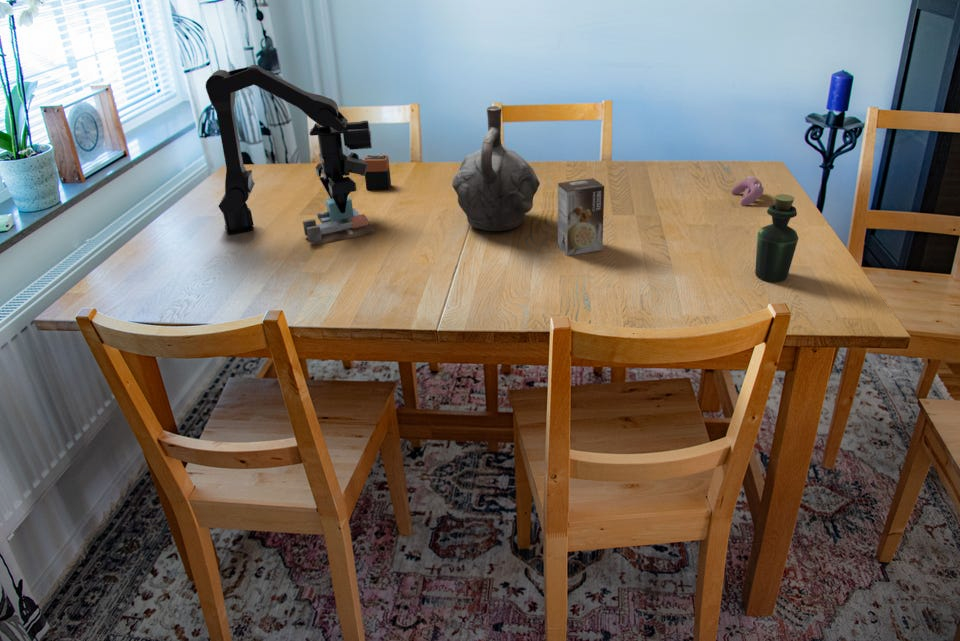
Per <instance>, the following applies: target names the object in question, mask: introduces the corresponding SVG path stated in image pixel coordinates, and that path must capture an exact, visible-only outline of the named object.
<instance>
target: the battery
mask: <svg viewBox="0 0 960 641" xmlns="http://www.w3.org/2000/svg"><path fill="white" fill-rule="evenodd" d="M389 159H390V158H389V156H388V155H385V153H377V154H376V155H372V154H371V153H370V154H366V156H365V157H364V158H363V160H364V161H365V162H366V163H367V164H368V165H367V170H366V174H365V176H364V181H365V189H366V190H367V191H386V190H387V191H389V189H390V188H391V185H392V180H391V179H392V178H391V171H390V170H391V169H390V160H389Z"/></svg>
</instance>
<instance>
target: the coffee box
mask: <svg viewBox="0 0 960 641" xmlns="http://www.w3.org/2000/svg"><path fill="white" fill-rule="evenodd" d="M557 186H558V187H557V191H558V192H557V194H558V196H557V246H558V248H559V249H560V250H561V251H562V252H563V253H564V254H565V255H566V256H567V255H568V256H569V255H570V256H576V255H581V254H586V253H587V254H588V253H594V252H600V251H603V242H604V241H603V240H604V239H603V238H604V212H605V211H604V208H605V205H604V204H605V185H603V184H602V183H601V182H600V181H598V180H596V179H595V178H593V177H592V178H587V179H577V180H572V181H570V180H569V181H563V182H557Z"/></svg>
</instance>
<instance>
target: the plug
mask: <svg viewBox="0 0 960 641" xmlns="http://www.w3.org/2000/svg"><path fill="white" fill-rule="evenodd" d="M325 207H326V211H324V212H319V213H317V214H316V215H317V219H318V220H320V219H321V218H327V217H328V218H329V219H330V221H331V222H332V221H337V220H342V219H346V218H349V217H352V216H354V215H353V208H354V207H353V200H352V199H351V197H350V196H349V195H348V197H347V203H346V210H345V213H341V212H340V211H339V209H338V207H337V205H336V203H335V202H334V200H333V198H330V197H329V198H326V199H325Z"/></svg>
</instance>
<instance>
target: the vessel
mask: <svg viewBox="0 0 960 641" xmlns="http://www.w3.org/2000/svg"><path fill="white" fill-rule="evenodd" d="M486 116H487V130H488V131H487V133H486V134H485V136H484V138H483V142H482V146H481V148H480V149H478V150H476V151H475V152H473V153H469V154H467V155H466V156H465V157H464V158H463V160H462V161H461V164H460V167H459V169H458V171H457V172H456V174H455V175H454V176H453V179H452V182H451V187H452V188H453V189H454V191H455V193H456V194H457V195H456V196H457V203H458V205H459V207H460V208H461V210H462V212H464V214H465V215H466V220H467V222H468V224H469V225H470V226H471V227H473V228H476V229H480V230H482V231H488V232H490V231H491V232H503V231H509V230H512V229H515V228H517V227H519V226H521V225H522V224H523V223H524V221H525V219H526V214H528V213H529V212H531V210H532V209H533V206H534V203H533V202H534V198H535V197H534V196H535V194H536V193H537V191H538V189H539V187H540V184H541V183H540V180H539V179H538V177H537V174H536V172H535V170H534V169H533V167H532V166H531V165H530V164H529V163H528V162H527V160H525V159H524V157H522V156H521V155H519V154H518V153H517V151H514V150H512V149H509V148H507V147H503V144H502V137H501V136H502V134H501V133H502V131H501V130H502V107H501V106H498V105H493V106H492V105H490V106H488V107H487V108H486Z"/></svg>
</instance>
